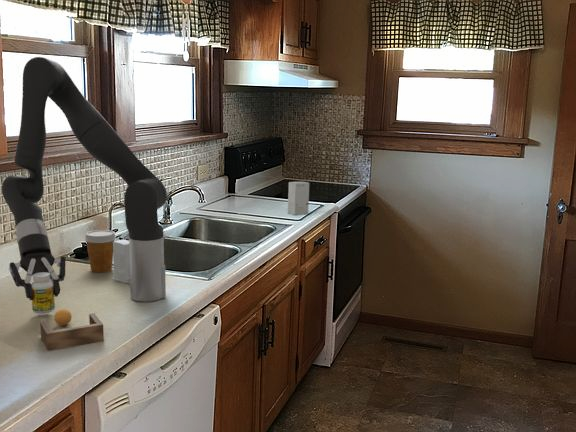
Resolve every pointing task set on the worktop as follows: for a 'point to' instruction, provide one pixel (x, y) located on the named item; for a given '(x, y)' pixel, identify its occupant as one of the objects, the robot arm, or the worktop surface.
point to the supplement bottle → (42, 293)
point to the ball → (62, 317)
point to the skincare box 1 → (121, 261)
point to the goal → (72, 334)
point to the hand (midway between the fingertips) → (44, 296)
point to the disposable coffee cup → (100, 249)
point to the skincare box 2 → (298, 198)
